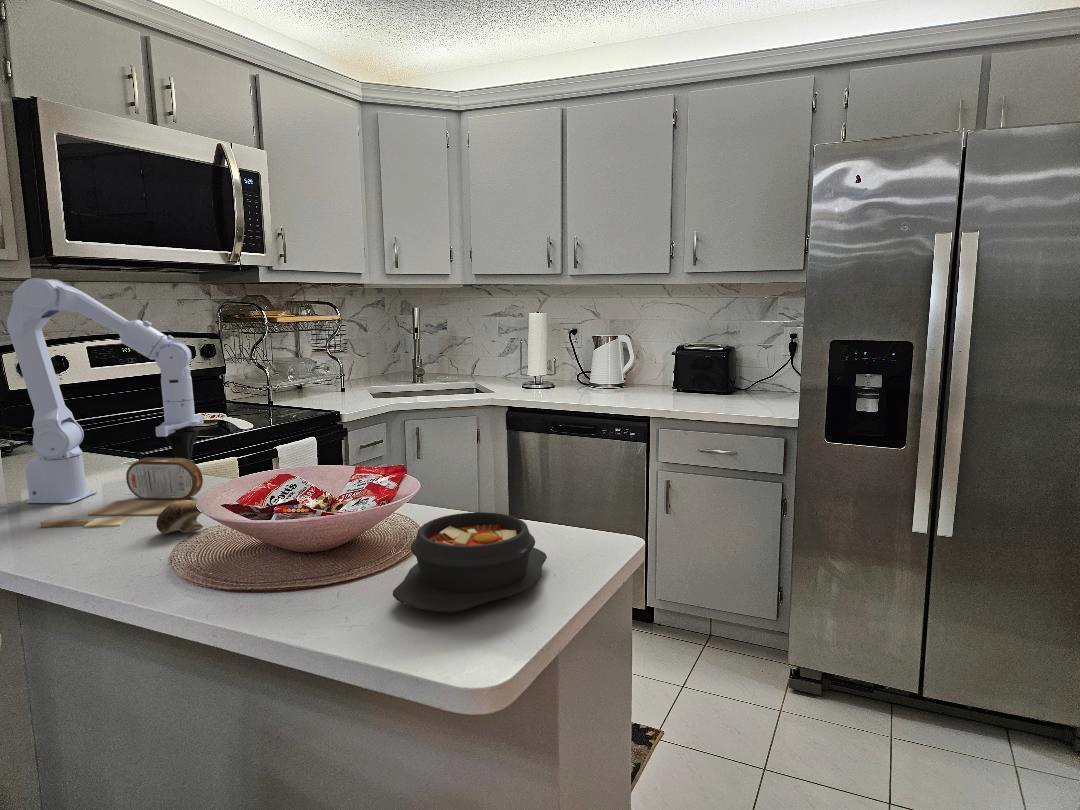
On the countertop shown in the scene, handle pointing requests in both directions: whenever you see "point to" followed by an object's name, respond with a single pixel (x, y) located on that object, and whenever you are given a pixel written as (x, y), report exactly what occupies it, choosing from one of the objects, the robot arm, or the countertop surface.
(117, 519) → the turner
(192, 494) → the tin
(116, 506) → the tan flat board
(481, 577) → the casserole
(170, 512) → the mushroom
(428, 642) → the countertop surface
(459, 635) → the countertop surface
